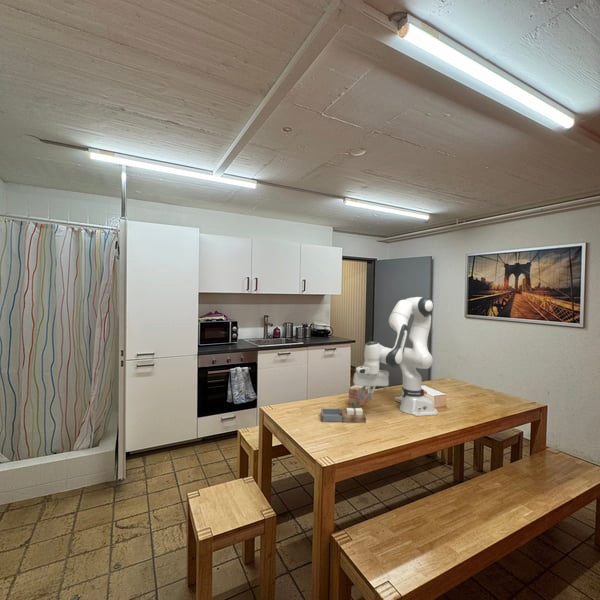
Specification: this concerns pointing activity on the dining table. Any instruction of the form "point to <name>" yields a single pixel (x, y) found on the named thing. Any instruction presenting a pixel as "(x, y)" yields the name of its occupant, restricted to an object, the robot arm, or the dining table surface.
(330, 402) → the dining table surface
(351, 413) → the tile
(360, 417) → the board
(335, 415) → the tray
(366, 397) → the stack of blocks
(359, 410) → the tile
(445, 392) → the dining table surface
